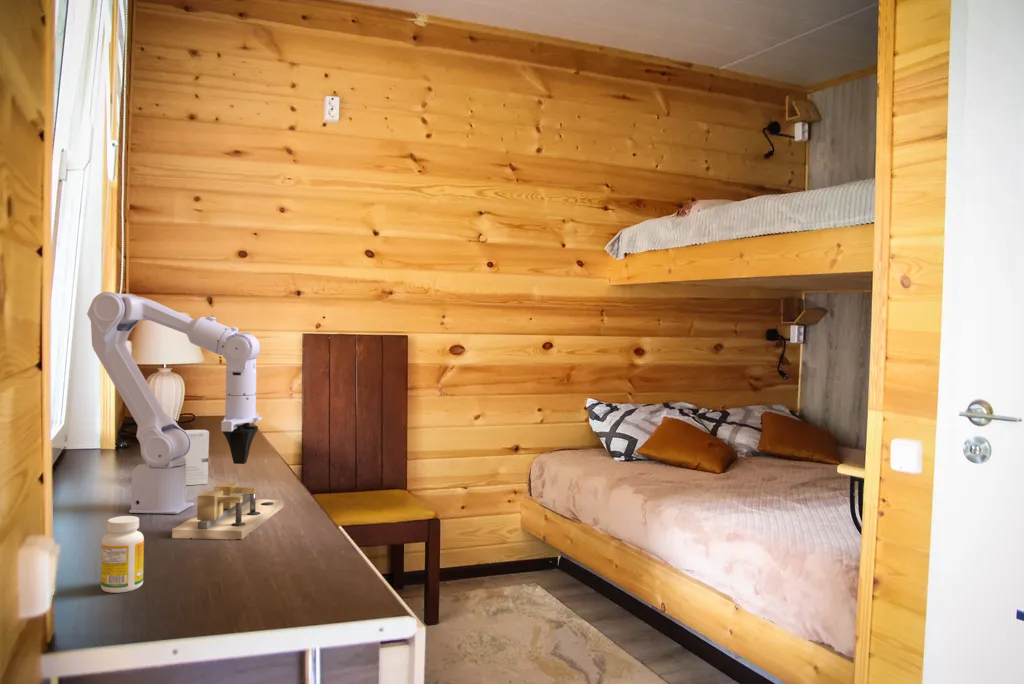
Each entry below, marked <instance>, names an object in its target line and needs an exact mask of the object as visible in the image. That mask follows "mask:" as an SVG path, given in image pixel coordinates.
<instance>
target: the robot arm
mask: <svg viewBox="0 0 1024 684" xmlns="http://www.w3.org/2000/svg"><path fill="white" fill-rule="evenodd" d="M86 314H87V316H88V317H87V318H89V320H90V331H91V332H90V333H91V334H90V335H91V347H92V349H93V351H94V353H95V354H96V356H97V357H98V359H99V362H100V363H101V365H102V367H103V368H104V370H105V371H106V374H107V375H108V376H109V379H110V380H111V381H112V384H113V385H114V388H115V389H116V391H117V392H118V394H119V395H120V397H121V399H122V400H123V402H124V404H125V406H126V407H127V409H128V411H129V412H130V414H131V416H132V418H133V420H134V421H135V423H136V425H137V431H136V436H135V437H136V439H137V440H138V442H139V445H140V455H141V457H142V459H143V460H144V461H145V464H144V463H141V464H138V465H137V466H135V467H134V470H133V471H132V474H131V482H130V483H131V487H130V489H131V490H130V491H131V492H130V495H131V496H130V504H131V505H130V507H131V508H130V509H129V510H128V512H129V513H130V514H131V513H133V514H168V515H169V514H170V515H171V514H173V515H174V514H175V515H178V514H180V513H182V512H184V511H185V510H187V509H188V508H191V507H192V506H194V504H195V503H194V502H191V501H190V502H189V501H187V485H186V459H185V455H186V454H187V453H188V452H189V450H190V447H191V439H190V436H189V434H188V433H187V432H186V431H185V429H183V428H181V427H180V426H179V424H178V423H177V422H176V420H175V419H174V418H173V417H171V416H170V415H168V413H166V412H165V410H164V409H163V408H162V406H161V404H160V403H159V401H158V398H157V397H156V395H155V393H154V392H153V390H152V389H151V386H150V385H149V383H148V382H147V380H146V379H145V376H144V375H143V373H142V371H141V370H140V368H139V366H138V364H137V363H136V361H135V359H134V358H133V356H132V354H131V352H130V350H129V349H128V348H127V346H126V343H127V340H128V338H129V336H130V333H131V332H132V331H133V329H134V328H135V327H136V326H137V325H138V323H140V321H151V322H154V323H156V324H159V325H161V326H163V327H166V328H169V329H172V330H175V331H177V332H180V333H183V334H185V335H186V337H187V338H188V340H189V342H190V344H192V345H195V346H197V347H200V348H201V349H205V350H206V351H210V352H212V353H214V354H216V355H219V356H223V358H224V359H225V361H226V362H225V366H226V368H225V399H224V400H225V403H224V404H225V405H224V406H225V408H224V409H225V410H224V412H225V413H224V417H223V420H221V423H220V424H221V425H220V428H221V430H220V431H221V432H222V434H223V435H224V437H225V439H226V441H227V443H228V446H229V449H230V453H231V459H232V462H233V464H234V465H245V464H247V462H248V460H249V459H248V457H249V454H250V449H251V446H252V442H253V439H254V437H255V436H256V434H257V432H258V429H259V428H258V427H259V426H257V425H251V424H252V423H258V422H261V421H263V417H262V416H259V412H257V358H258V356H259V355H260V352H261V344H260V343H261V342H260V341H259V339H258V338H257V337H256V336H255V335H252V333H250V332H240V333H239V328H238V327H236V326H232V327H229V326H227V325H226V324H225V325H224V324H223V323H220V322H217V318H216V317H215V316H212V315H208V316H207V317H206V316H200V317H198V318H195V319H194V318H192V317H189V316H187V315H185V314H183V313H181V312H179V311H177V310H174V309H172V308H170V307H168V306H166V305H163V304H161V303H159V302H157V301H155V300H153V299H149V298H146V297H142V296H138V295H136V294H135V293H134V294H133V293H130V292H128V293H127V292H126V293H117V292H111V291H104V292H100V293H98V294H97V295H96V296H94V298H93V299H92V301H91V303H90V305H89V308H88V311H87V313H86Z"/></svg>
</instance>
